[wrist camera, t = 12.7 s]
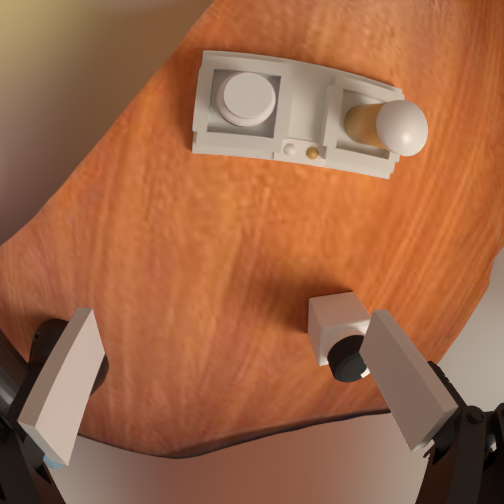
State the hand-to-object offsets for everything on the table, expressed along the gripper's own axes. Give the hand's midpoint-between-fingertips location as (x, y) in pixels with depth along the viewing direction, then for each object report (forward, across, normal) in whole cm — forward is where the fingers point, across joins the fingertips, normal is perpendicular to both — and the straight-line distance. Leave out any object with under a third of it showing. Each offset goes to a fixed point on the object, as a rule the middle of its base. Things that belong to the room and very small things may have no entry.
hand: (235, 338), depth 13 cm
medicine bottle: (+24, +16, -16) cm, 33 cm away
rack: (+24, +8, +12) cm, 27 cm away
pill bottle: (+23, +1, +12) cm, 26 cm away
